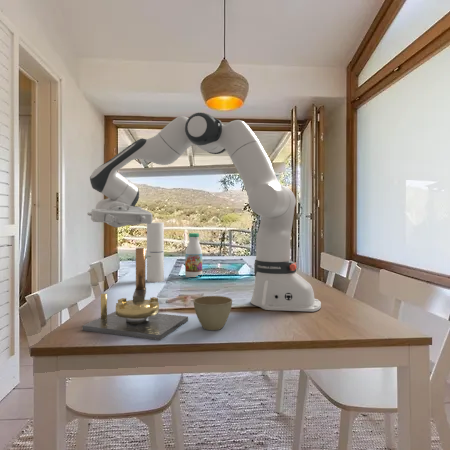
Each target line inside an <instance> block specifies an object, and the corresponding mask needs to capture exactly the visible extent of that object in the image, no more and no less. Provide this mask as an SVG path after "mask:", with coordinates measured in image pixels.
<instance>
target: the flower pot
mask: <svg viewBox="0 0 450 450" xmlns="http://www.w3.org/2000/svg"><path fill="white" fill-rule="evenodd" d="M192 302H193V307H194V312H195V314H196V317H197V319H198V321H199V323H200V325H201V326H202V328H203V329H204V330H207V331H218V330H221V329H223V328H224V326H225V324H226V323H227V320H228V318H229V316H230V314H231V311H232V306H233V299H232V298H231V297H227V296H221V295H208V296H199V297H196V298H194V299H193V301H192Z"/></svg>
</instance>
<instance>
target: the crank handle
mask: <svg viewBox="0 0 450 450" xmlns="http://www.w3.org/2000/svg"><path fill="white" fill-rule="evenodd" d="M146 282H147V255H146V247H136V248H135V289H134V292H133V295H132V299H129V300H127V298H126V297H122V298H119V299H117V303H115V311H116V315H117V316H119V317H123V318H144V317H149V316H153V315H156V314H157V313H159V312H160V302H159V298H157V297H156V296H152V297H150V299H146V295H147V287H146V286H147V285H146ZM159 314H160V313H159Z"/></svg>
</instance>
